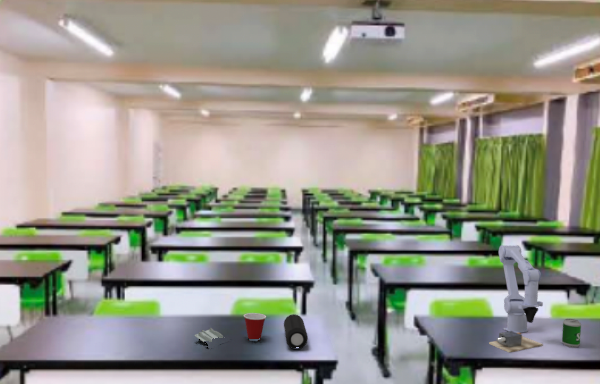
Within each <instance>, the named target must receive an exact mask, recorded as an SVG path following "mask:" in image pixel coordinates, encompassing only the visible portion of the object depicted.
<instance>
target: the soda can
mask: <svg viewBox="0 0 600 384" xmlns="http://www.w3.org/2000/svg"><path fill="white" fill-rule="evenodd" d="M581 329H582V324H581V322H580V321H579V320H578V319H575V318H565V319H564V320H563V321H562V336H561V337H562V339H561V343H562V344H563V345H564V346H565V347H568V348H572V349H573V348H575V349H576V348H578V347H579V346H580V345H581Z"/></svg>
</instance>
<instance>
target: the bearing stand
mask: <svg viewBox="0 0 600 384" xmlns="http://www.w3.org/2000/svg"><path fill="white" fill-rule="evenodd" d="M501 337H506V341H504V342H499V343H498V342H497V340H494V341H489V342H488V344H489V345H491V346H493V347H495V348H497V349H500V350H502V351H504V352H507V353H514V352H518V351H519V352H520V351H524V350H529V349H535V348H539V347H543V345H544V344H543V343H542V342H539V341H535V340H533V339H530V338H528V337H525V336H523V335H522V333H521V334H518V333H516V332H513V331H502V332H499V333H498V338H501Z"/></svg>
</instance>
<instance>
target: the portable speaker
mask: <svg viewBox="0 0 600 384" xmlns="http://www.w3.org/2000/svg"><path fill="white" fill-rule="evenodd" d="M283 328H284V329H283V330H284V334H285V341H286V344H287V346H288V347H289V346H290V347H289V348H291V347H292V348H296V347H299V348H301V349H303V348H304V347H305V346H306V345H307V343H308V340H309V339H308V333H307V329H306V325H305V322H304V319H303V318H302V317H301V316H300V315H299V314H295V313H293V314H289V315H288V316H287V317H286V318H285V319H284V321H283ZM292 348H291V349H292Z"/></svg>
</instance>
